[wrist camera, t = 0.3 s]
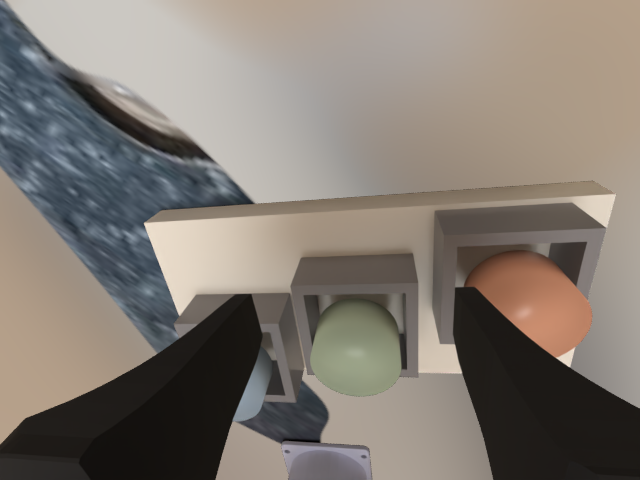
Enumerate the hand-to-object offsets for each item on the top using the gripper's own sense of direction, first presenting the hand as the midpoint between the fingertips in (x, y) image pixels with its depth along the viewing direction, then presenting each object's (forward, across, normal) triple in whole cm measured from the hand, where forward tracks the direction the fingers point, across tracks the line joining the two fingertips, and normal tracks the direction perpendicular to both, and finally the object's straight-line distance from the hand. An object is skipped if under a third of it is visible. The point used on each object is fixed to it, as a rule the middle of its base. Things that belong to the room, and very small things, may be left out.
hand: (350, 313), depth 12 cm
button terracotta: (+5, -7, +3) cm, 9 cm away
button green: (+5, 0, +5) cm, 7 cm away
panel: (+10, 0, +5) cm, 11 cm away
